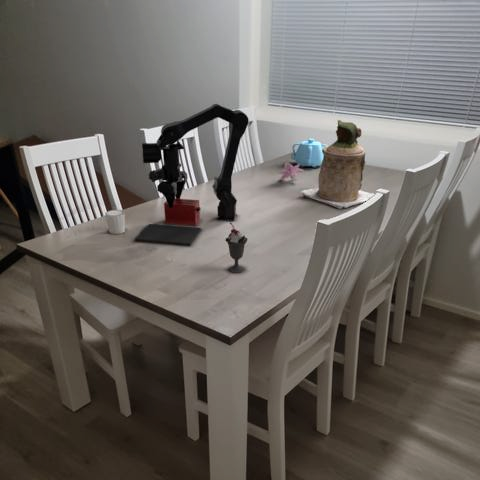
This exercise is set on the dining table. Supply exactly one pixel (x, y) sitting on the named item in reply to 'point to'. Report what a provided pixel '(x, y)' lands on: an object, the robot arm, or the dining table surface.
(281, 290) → the dining table surface
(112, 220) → the shot glass
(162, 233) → the placemat
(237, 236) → the sundae
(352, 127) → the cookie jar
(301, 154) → the decorative pot
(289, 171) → the lily
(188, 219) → the toaster
